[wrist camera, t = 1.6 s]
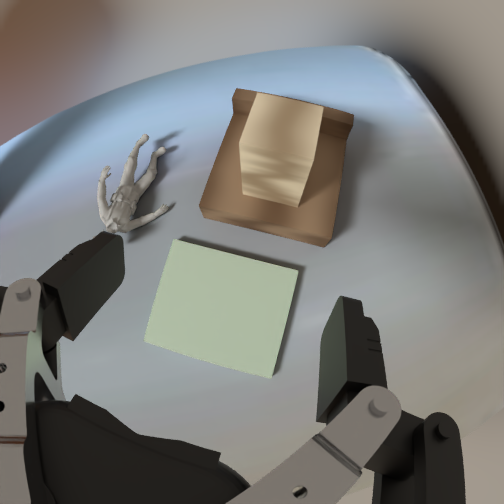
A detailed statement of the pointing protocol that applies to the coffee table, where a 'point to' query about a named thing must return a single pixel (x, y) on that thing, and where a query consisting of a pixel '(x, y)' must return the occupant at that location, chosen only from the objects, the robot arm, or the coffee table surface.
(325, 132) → the walnut ledge
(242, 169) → the birch block
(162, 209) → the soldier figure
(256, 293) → the pad
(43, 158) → the coffee table surface
